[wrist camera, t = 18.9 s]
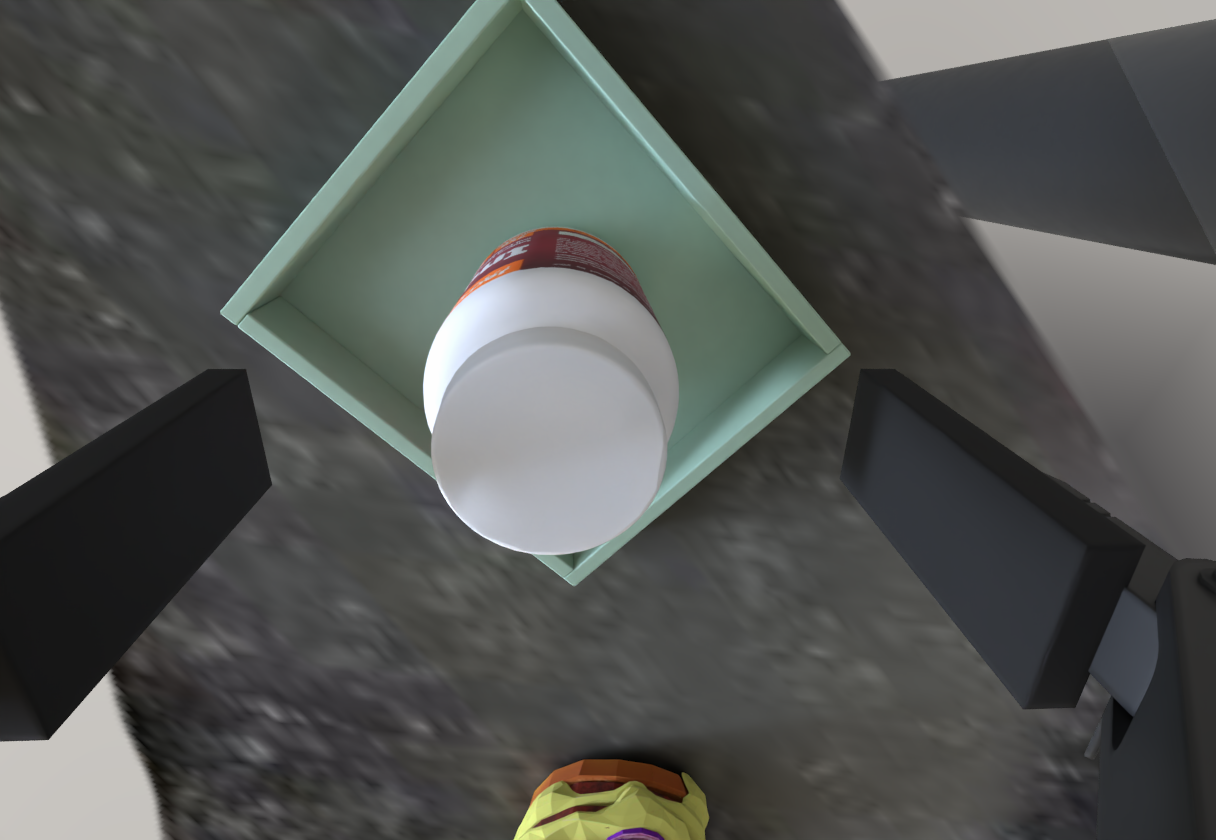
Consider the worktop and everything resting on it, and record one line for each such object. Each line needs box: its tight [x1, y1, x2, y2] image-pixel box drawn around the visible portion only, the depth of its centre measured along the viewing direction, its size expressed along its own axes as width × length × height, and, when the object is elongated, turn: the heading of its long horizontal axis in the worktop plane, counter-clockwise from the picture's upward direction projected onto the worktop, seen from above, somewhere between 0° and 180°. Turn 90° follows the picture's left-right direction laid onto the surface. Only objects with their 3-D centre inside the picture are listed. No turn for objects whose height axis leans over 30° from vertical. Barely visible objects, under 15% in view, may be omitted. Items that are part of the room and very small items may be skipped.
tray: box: [220, 0, 851, 586], centre depth 21 cm, size 15×13×3 cm
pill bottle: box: [423, 227, 679, 555], centre depth 17 cm, size 6×6×11 cm
